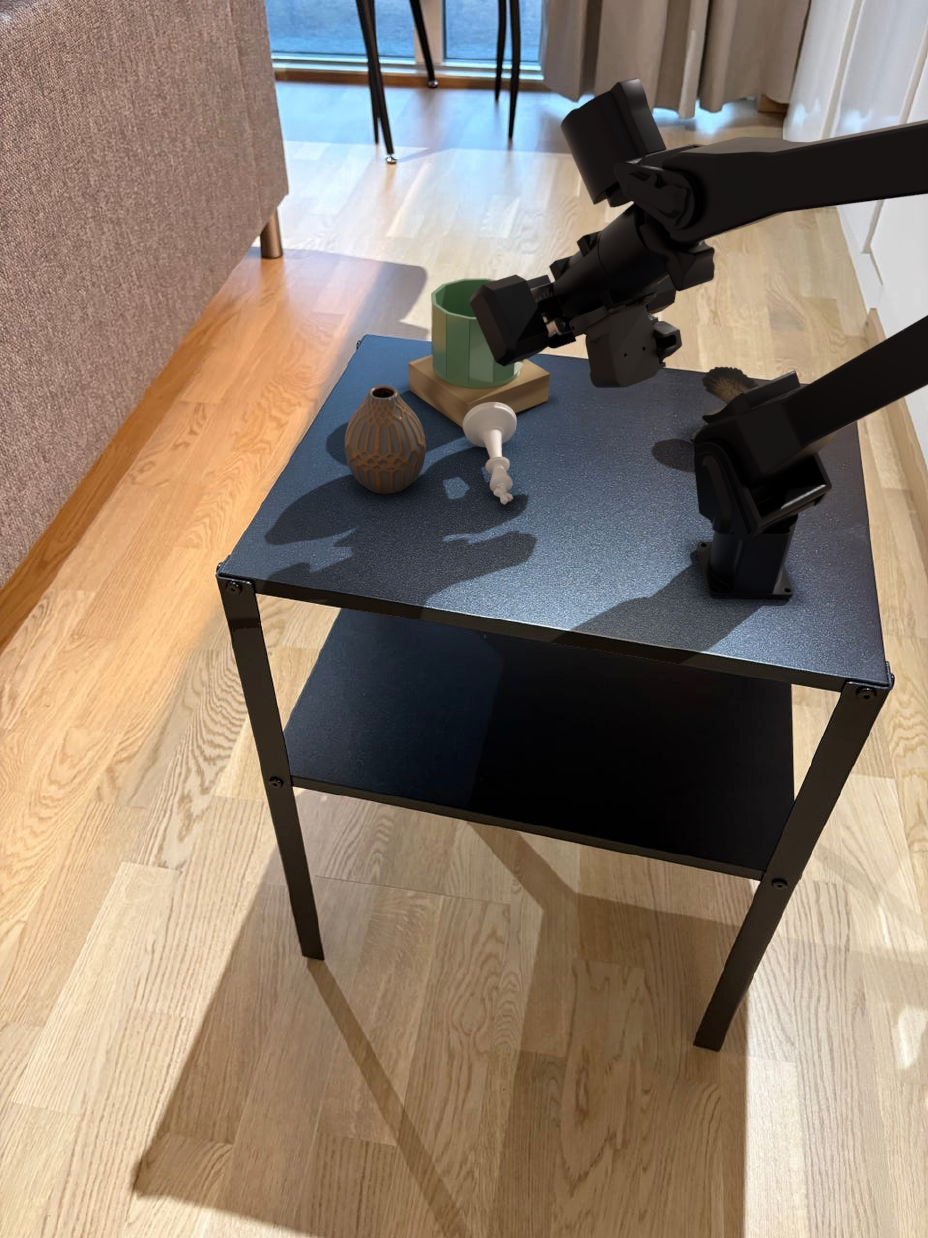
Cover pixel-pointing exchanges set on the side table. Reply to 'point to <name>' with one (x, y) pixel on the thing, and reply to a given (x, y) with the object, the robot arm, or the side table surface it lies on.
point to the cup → (463, 340)
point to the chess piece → (493, 441)
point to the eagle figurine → (726, 384)
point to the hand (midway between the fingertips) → (527, 337)
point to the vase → (385, 442)
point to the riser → (477, 390)
